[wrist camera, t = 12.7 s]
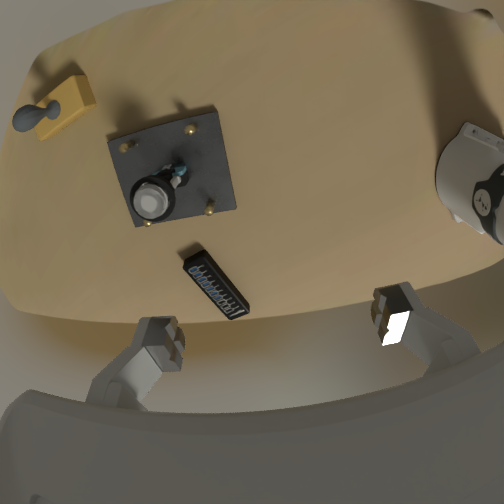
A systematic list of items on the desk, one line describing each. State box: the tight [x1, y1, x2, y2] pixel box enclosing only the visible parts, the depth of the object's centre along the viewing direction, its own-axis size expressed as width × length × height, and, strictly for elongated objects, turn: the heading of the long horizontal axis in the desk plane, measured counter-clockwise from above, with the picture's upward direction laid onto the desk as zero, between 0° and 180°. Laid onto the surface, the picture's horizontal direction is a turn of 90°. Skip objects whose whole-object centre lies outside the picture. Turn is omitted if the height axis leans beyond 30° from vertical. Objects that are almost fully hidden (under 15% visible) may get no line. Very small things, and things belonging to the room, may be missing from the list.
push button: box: [129, 164, 189, 222], centre depth 31 cm, size 7×5×10 cm
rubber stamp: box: [12, 75, 97, 141], centre depth 24 cm, size 10×6×12 cm, turn 108°
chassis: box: [107, 111, 237, 227], centre depth 35 cm, size 16×14×4 cm
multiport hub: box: [183, 250, 250, 320], centre depth 47 cm, size 4×14×2 cm, turn 30°
